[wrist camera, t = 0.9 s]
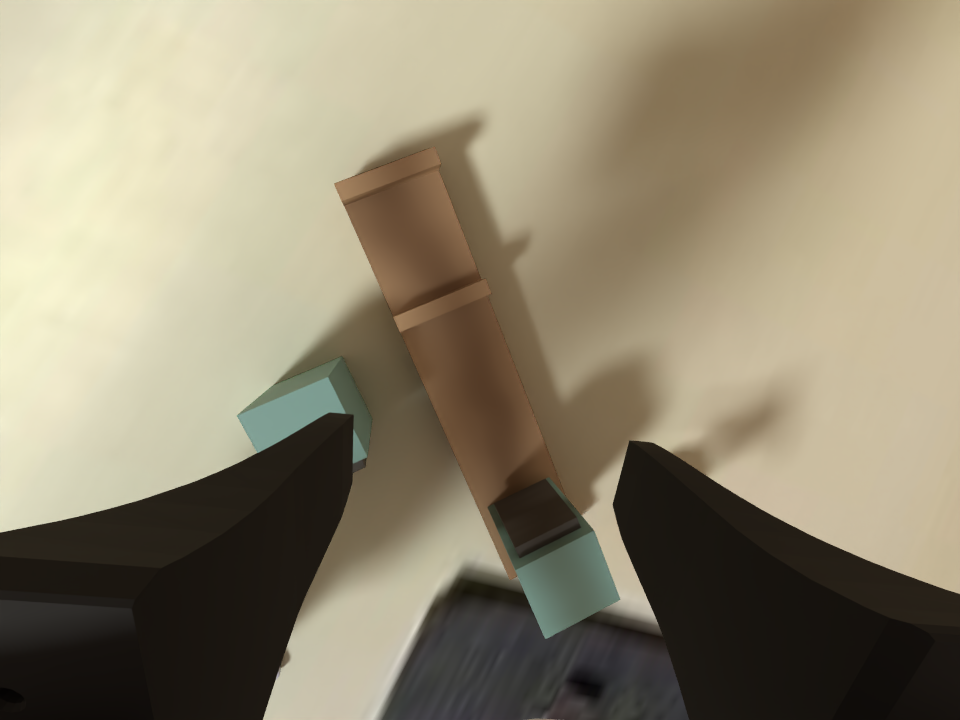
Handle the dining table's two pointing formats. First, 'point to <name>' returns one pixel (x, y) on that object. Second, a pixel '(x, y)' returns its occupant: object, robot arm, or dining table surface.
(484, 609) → the dining table surface
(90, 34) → the dining table surface
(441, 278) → the rail
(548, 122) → the dining table surface
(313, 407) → the block
